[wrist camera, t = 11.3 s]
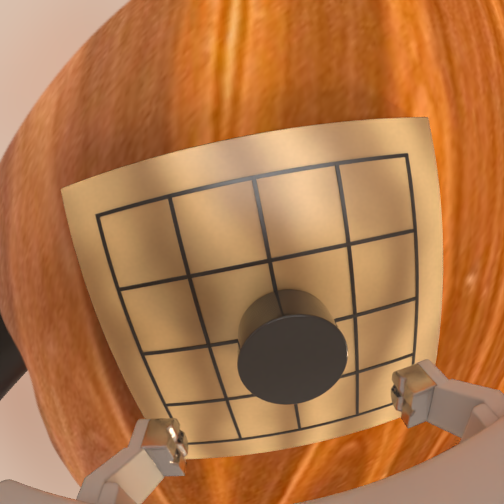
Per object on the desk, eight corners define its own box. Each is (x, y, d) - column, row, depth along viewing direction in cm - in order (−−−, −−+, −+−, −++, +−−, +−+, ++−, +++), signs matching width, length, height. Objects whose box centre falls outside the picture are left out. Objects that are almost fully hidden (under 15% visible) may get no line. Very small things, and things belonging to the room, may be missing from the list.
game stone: (248, 377, 16) (249, 413, 13) (228, 299, 15) (225, 327, 12) (334, 359, 16) (350, 391, 13) (327, 279, 15) (345, 302, 12)
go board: (172, 446, 20) (169, 460, 18) (73, 187, 15) (59, 188, 13) (419, 395, 19) (428, 407, 18) (414, 120, 14) (429, 116, 13)
